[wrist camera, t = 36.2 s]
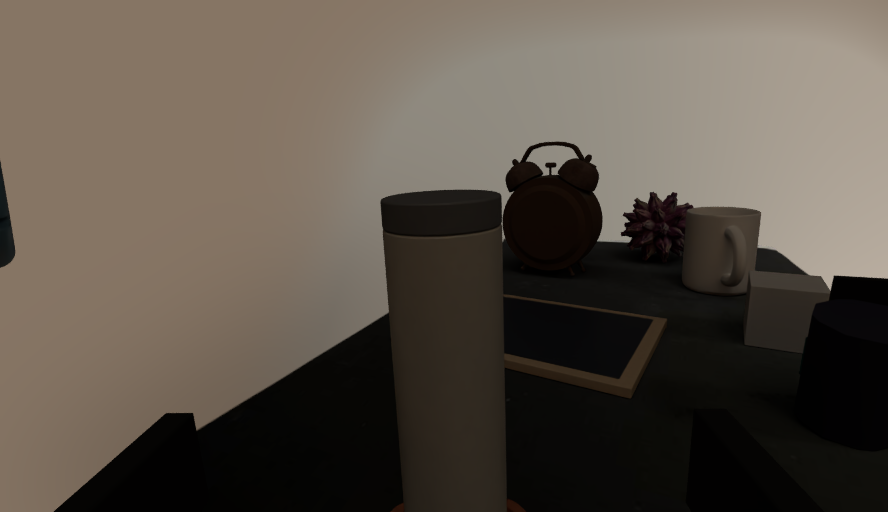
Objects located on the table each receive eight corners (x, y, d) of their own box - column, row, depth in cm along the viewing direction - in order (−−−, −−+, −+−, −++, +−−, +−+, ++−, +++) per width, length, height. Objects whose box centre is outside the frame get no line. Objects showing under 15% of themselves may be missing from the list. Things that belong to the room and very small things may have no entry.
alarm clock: (604, 271, 72) (609, 139, 68) (591, 283, 66) (595, 139, 62) (518, 262, 80) (517, 143, 76) (499, 272, 74) (497, 144, 70)
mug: (776, 308, 54) (787, 220, 52) (697, 305, 56) (704, 221, 54) (739, 279, 65) (746, 206, 63) (675, 277, 67) (680, 207, 65)
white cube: (744, 345, 45) (750, 285, 44) (742, 324, 50) (748, 270, 49) (823, 356, 42) (832, 293, 41) (813, 333, 47) (821, 275, 46)
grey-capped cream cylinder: (394, 639, 19) (354, 201, 15) (447, 566, 22) (426, 188, 18) (479, 699, 17) (460, 205, 13) (524, 608, 20) (521, 190, 16)
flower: (625, 259, 85) (698, 248, 80) (627, 274, 74) (712, 262, 69) (614, 197, 83) (687, 182, 79) (614, 203, 72) (700, 186, 68)
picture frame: (396, 341, 50) (395, 332, 50) (474, 296, 64) (474, 289, 63) (631, 399, 37) (631, 387, 37) (666, 326, 50) (667, 317, 50)
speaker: (802, 383, 37) (827, 263, 34) (900, 412, 34) (940, 279, 30) (780, 433, 33) (806, 299, 29) (893, 475, 29) (939, 325, 25)
